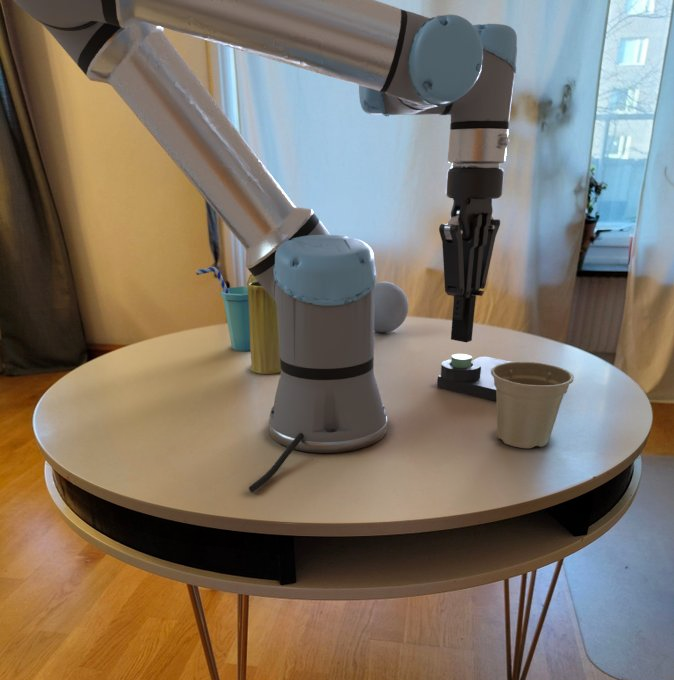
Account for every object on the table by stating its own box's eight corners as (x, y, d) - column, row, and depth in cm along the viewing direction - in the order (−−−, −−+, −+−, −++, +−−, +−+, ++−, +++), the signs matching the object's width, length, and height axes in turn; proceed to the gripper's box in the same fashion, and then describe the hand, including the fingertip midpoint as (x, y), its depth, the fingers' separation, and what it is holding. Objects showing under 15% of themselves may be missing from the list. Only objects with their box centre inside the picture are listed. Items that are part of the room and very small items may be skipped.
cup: (201, 354, 112) (192, 270, 106) (206, 343, 119) (197, 263, 113) (278, 351, 113) (273, 268, 107) (278, 340, 120) (273, 261, 114)
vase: (282, 362, 107) (278, 278, 101) (291, 372, 102) (286, 285, 96) (248, 365, 106) (241, 281, 99) (254, 376, 100) (248, 287, 94)
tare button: (464, 370, 91) (465, 360, 91) (447, 367, 93) (447, 357, 93) (474, 366, 93) (475, 356, 93) (457, 362, 95) (458, 352, 95)
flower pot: (553, 425, 80) (563, 361, 76) (571, 456, 72) (583, 386, 68) (480, 423, 81) (486, 360, 77) (489, 454, 73) (496, 384, 69)
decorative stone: (362, 325, 131) (362, 277, 127) (409, 326, 129) (411, 278, 125) (355, 337, 122) (355, 286, 118) (405, 338, 120) (407, 287, 116)
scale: (513, 406, 86) (516, 383, 85) (432, 387, 94) (434, 365, 93) (555, 380, 96) (558, 359, 95) (479, 365, 104) (481, 344, 103)
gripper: (476, 166, 75) (460, 353, 85) (524, 166, 84) (504, 335, 94) (425, 166, 79) (415, 344, 89) (475, 166, 88) (461, 328, 98)
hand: (461, 339), depth 92 cm, fingers closed
